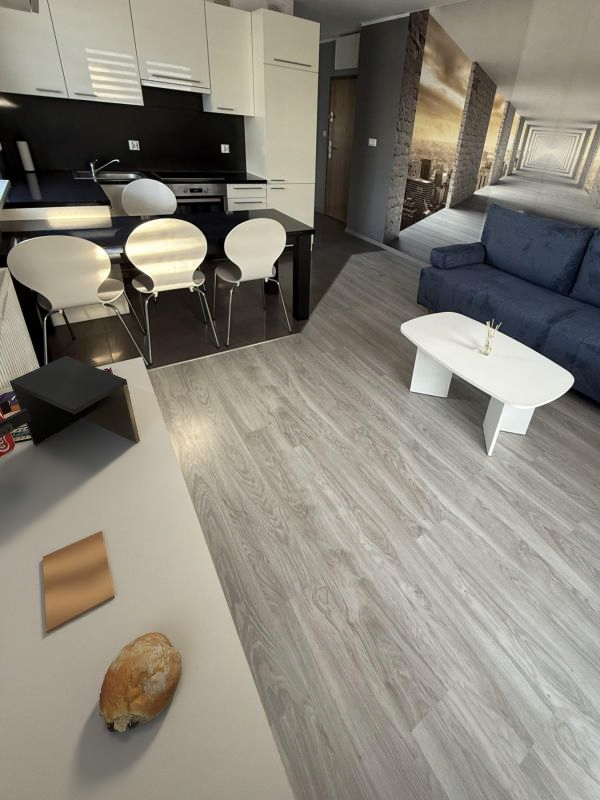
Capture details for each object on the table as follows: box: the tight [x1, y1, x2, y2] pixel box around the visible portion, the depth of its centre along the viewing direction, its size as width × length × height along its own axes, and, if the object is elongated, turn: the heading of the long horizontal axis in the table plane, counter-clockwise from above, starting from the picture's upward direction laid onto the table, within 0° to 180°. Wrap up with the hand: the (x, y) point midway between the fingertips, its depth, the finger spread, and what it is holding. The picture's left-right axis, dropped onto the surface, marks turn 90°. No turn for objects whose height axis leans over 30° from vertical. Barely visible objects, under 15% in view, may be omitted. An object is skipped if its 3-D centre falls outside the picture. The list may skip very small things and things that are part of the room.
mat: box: [42, 530, 116, 634], centre depth 68 cm, size 14×9×1 cm, turn 37°
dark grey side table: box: [9, 355, 141, 447], centre depth 91 cm, size 12×20×18 cm, turn 67°
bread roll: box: [98, 631, 183, 734], centre depth 55 cm, size 10×10×8 cm
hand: (18, 409), depth 78 cm, fingers closed on soda can, 5 cm apart
